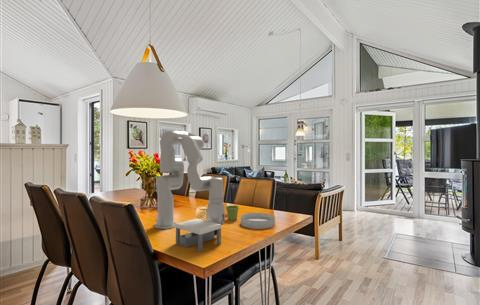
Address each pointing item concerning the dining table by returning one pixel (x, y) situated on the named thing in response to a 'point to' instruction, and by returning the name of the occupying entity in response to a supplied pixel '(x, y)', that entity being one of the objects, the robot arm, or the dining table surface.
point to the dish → (257, 220)
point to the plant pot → (232, 212)
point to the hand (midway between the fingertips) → (216, 234)
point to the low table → (199, 230)
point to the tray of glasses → (194, 238)
